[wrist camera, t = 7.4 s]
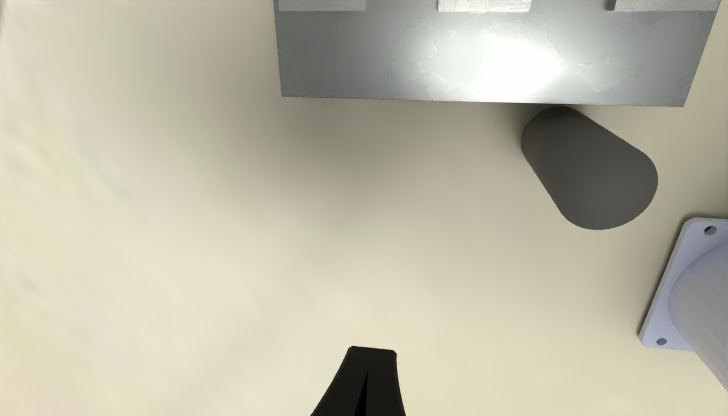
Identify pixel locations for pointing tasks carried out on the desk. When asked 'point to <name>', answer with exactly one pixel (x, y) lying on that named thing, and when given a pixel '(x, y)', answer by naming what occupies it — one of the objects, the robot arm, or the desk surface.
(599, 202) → the cylinder
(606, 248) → the desk surface
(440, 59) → the breaker panel
